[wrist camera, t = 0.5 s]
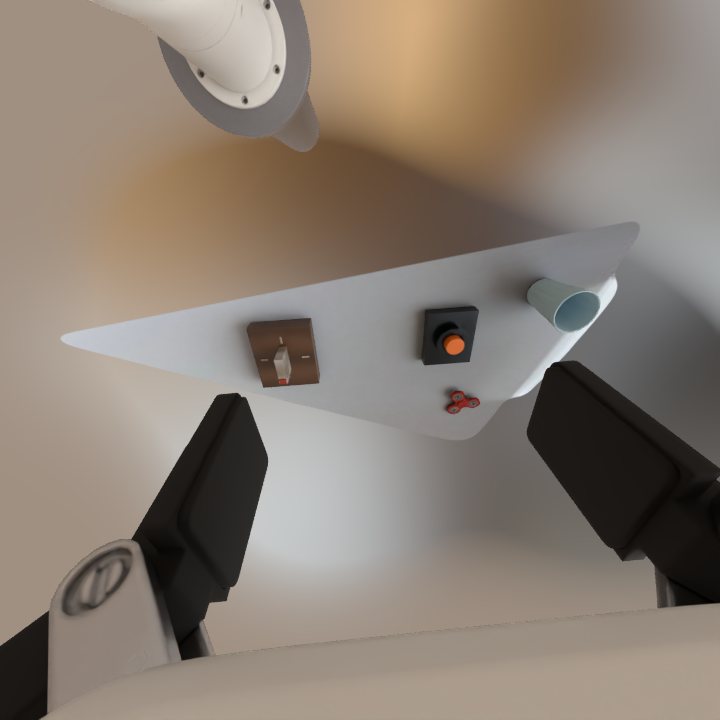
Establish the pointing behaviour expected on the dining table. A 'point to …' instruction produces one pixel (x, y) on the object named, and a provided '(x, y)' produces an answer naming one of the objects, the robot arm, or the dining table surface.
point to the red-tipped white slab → (282, 365)
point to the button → (453, 344)
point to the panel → (299, 349)
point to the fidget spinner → (461, 402)
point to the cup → (564, 304)
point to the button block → (448, 334)
